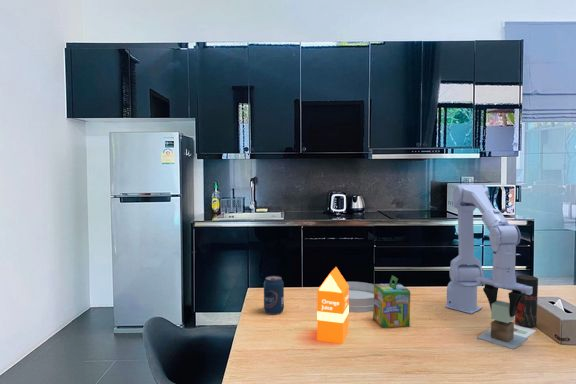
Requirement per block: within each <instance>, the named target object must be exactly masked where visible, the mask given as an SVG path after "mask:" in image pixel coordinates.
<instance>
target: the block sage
mask: <svg viewBox="0 0 576 384" xmlns="http://www.w3.org/2000/svg"><path fill="white" fill-rule="evenodd" d="M509 311H510V302H507V301H502V300H499V299H497V301H496V302H494V303H492V308H490V312H491V317H490V318H491V320H493V321H494V320H497V321H501V322H505V323H509V322H512V321H515V316H513V317H510V313H509Z"/></svg>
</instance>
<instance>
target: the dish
mask: <svg viewBox="0 0 576 384" xmlns="http://www.w3.org/2000/svg"><path fill="white" fill-rule="evenodd" d="M346 282H347V284H348V285H349V313H370V312H373V307H374V283H370V282H369V283H368V282H363V281H362V282H361V281H346Z"/></svg>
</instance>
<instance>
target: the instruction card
mask: <svg viewBox="0 0 576 384" xmlns="http://www.w3.org/2000/svg"><path fill="white" fill-rule="evenodd" d="M536 332H537V330H536V329H533V328H527V327H522V326H519V325H517V324H514V335H518V336H522V337H525V338H528V337H530V336H532V335H533V334H534V333H536Z"/></svg>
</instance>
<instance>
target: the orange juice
mask: <svg viewBox="0 0 576 384" xmlns="http://www.w3.org/2000/svg"><path fill="white" fill-rule="evenodd" d="M347 282H348V281H346V279H345V278H344V276H343V275H342V274H341V272H340V270H339V269H338V266H335V267H334V268H333V269H332V270H331V271H330V273H329V274H328V275H327V277H326V278H325V279H324V281H323V282H322V284H321V285H319V288H318V289H317V290H316V292H317V293H316V296H317V297H316V301H317V302H316V303H317V304H316V306H317V307H316V309H317V310H316V321H317V325H316V326H317V327H316V332H317V334H316V337H317V341H321V342H326V343H327V342H328V343H335V344H344V343H345V340H346V339H347V336H348V334H349V331H350V330H349V328H350V326H349V322H350V320H349V319H350V318H349V315H350V314H349V313H350V312H349V285H348V284H347Z"/></svg>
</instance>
